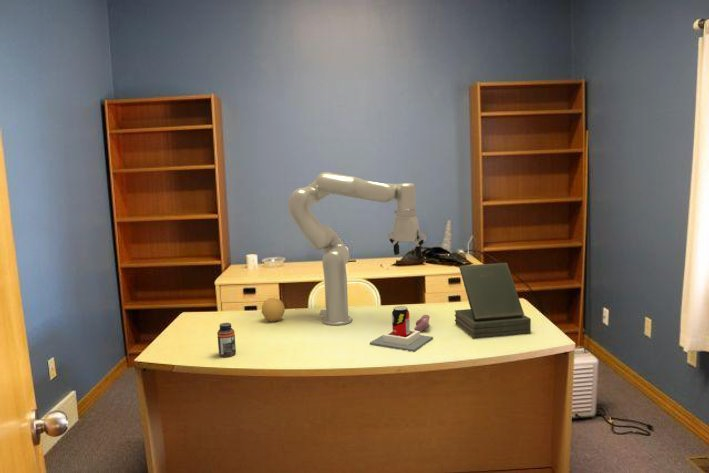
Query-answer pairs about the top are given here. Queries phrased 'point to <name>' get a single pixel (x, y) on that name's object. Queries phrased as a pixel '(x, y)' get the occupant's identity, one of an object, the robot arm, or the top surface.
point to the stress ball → (273, 309)
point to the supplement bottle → (226, 340)
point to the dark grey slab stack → (491, 303)
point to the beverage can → (400, 321)
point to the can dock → (402, 341)
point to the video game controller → (422, 323)
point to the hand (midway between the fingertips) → (407, 255)
